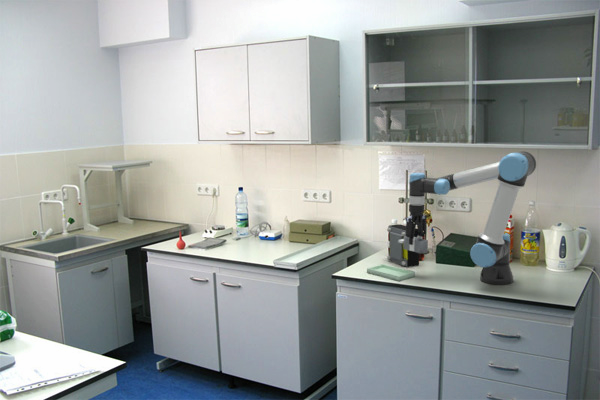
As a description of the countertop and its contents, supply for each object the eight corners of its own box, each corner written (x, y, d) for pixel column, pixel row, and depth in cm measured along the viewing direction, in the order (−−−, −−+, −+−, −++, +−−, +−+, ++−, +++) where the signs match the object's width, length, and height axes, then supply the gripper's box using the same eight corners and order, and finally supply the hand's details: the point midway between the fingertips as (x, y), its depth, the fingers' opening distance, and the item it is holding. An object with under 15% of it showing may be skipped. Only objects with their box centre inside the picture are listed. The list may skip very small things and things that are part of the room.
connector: (429, 252, 278) (430, 240, 277) (422, 254, 275) (423, 242, 274) (403, 245, 292) (403, 234, 291) (397, 247, 289) (397, 235, 288)
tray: (415, 276, 283) (415, 271, 283) (399, 281, 276) (399, 276, 276) (382, 268, 300) (382, 264, 300) (366, 272, 293) (366, 268, 293)
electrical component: (386, 260, 316) (385, 225, 313) (401, 258, 320) (400, 223, 317) (404, 267, 300) (404, 231, 297) (420, 265, 304) (419, 229, 302)
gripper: (422, 201, 287) (421, 245, 290) (398, 205, 276) (397, 251, 280) (434, 203, 281) (433, 248, 285) (410, 207, 270) (409, 254, 274)
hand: (415, 249), depth 282 cm, fingers closed on connector, 5 cm apart
